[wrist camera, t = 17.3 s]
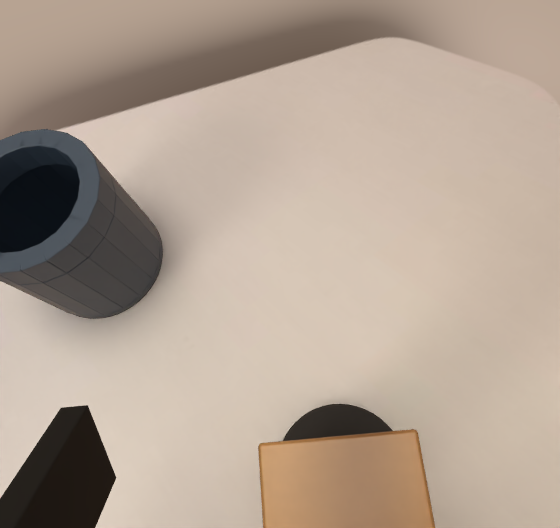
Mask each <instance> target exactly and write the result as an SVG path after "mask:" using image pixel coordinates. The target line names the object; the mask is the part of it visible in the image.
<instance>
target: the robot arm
mask: <svg viewBox="0 0 560 528" xmlns="http://www.w3.org/2000/svg"><path fill="white" fill-rule="evenodd" d="M115 479H116V476H115V473H114V471H113V468H112V466H111V463H110V461H109V458H108V456H107V453H106V451H105V448H104V446H103V443H102V441H101V438H100V435H99V433H98V430H97V428H96V425H95V423H94V420H93V418H92V415H91V413H90V410H89V408H88V405H86V406H76V407H66V408H61V409H60V410H59V412H58V413H57V415H56V416H55V418H54V419H53V421H52V422H51V424H50V425H49V427H48V428H47V430H46V431H45V433H44V434H43V436H42V437H41V439H40V440H39V442H38V443H37V445H36V446H35V448H34V449H33V451H32V452H31V454H30V455H29V457H28V458H27V460H26V461H25V463H24V464H23V466H22V467H21V469H20V470H19V472H18V473H17V475H16V476H15V478H14V479H13V481H12V482H11V484H10V485H9V487H8V488H7V490H6V491H5V493H4V494H3V495H2V497H1V498H0V528H95V527H96V524H97V522H98V519H99V517H100V515H101V512H102V510H103V508H104V505H105V503H106V501H107V498H108V496H109V493H110V491H111V489H112V486H113V484H114V482H115Z"/></svg>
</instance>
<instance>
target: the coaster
mask: <svg viewBox="0 0 560 528" xmlns="http://www.w3.org/2000/svg"><path fill="white" fill-rule="evenodd" d="M389 431H392V430H391V429H390V427H389V426H388V425H387V424H386V423H385V422H383V421H382V420H381V419H380V418H379V417H377V416H376V415H374V414H373V413H371V412H369V411H367V410H365V409H362V408H360V407H357V406H352V405H346V404H332V405H326V406H322V407H319V408H316V409H314V410H312V411H310V412H308V413H307V414H305V415H304V416H302V417H301V418H300V419H299V420H298V421H297V422H296V423H295V424H294V425H293V426H292V427H291V428H290V430H289V431H288V433H287V434H286V436H285V438H284V440H283V441H290V440H301V439H312V438H323V437H334V436H345V435H356V434H367V433H378V432H389Z"/></svg>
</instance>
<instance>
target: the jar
mask: <svg viewBox="0 0 560 528" xmlns="http://www.w3.org/2000/svg"><path fill="white" fill-rule="evenodd" d="M162 252H163V251H162V243H161V238H160V236H159V233H158V231H157V229H156V227H155V226H154V225H153V223H152V222H151V221H150V220H149V218H148V217H147V216H146V215H145V213H144V212H143V211H142V210H141V209H140V208H139V206H138V205H137V204H136V203H135V202H134V201H133V199H132V198H131V197H130V196H129V195H128V194H127V192H126V191H125V190H124V189H123V188H122V187H121V185H120V184H119V183H118V182H117V181H116V180H115V178H114V177H113V176H112V175H111V174H110V173H109V171H108V170H107V169H106V168H105V167H104V166H103V164H102V163H101V162H100V161H99V160H98V159H97V157H96V156H95V155H94V154H93V153H92V152H91V151H90V149H89V148H88V147H87V146H86V145H85V144H84V143H83V142H82V141H80V140H79V139H77V138H75V137H73V136H71V135H70V134H68V133H65V132H60V131H54V130H48V129H41V130H33V131H25V132H20V133H18V134H15V135H12V136H10V137H7V138H5V139H2V140H0V281H2V282H4V283H6V284H8V285H11V286H13V287H15V288H17V289H19V290H21V291H23V292H25V293H28V294H30V295H32V296H34V297H36V298H38V299H40V300H42V301H45V302H47V303H49V304H51V305H53V306H55V307H57V308H59V309H62V310H64V311H66V312H68V313H71V314H74V315H77V316H79V317H84V318H93V319H95V318H105V317H110V316H113V315H116V314H119V313H121V312H123V311H125V310H127V309H128V308H130V307H132V306H133V305H134V304H136V303H137V302H138V301H139V300H140V299H141V298H142V297H143V296H144V295H145V294H146V293H147V292H148V291H149V289H150V288H151V286H152V285H153V283H154V282H155V280H156V278H157V276H158V273H159V270H160V267H161V262H162Z"/></svg>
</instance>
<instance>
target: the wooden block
mask: <svg viewBox="0 0 560 528" xmlns="http://www.w3.org/2000/svg"><path fill="white" fill-rule="evenodd" d="M258 450H259V466H260V483H261V499H262V515H263V528H435V524H434V518H433V513H432V507H431V502H430V497H429V491H428V486H427V480H426V475H425V469H424V464H423V459H422V453H421V448H420V442H419V437H418V432H417V431H416V430H414V429H411V430H400V431H389V432H378V433H367V434H356V435H345V436H334V437H323V438H312V439H301V440H290V441H279V442H268V443H261V444H259V447H258Z"/></svg>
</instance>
